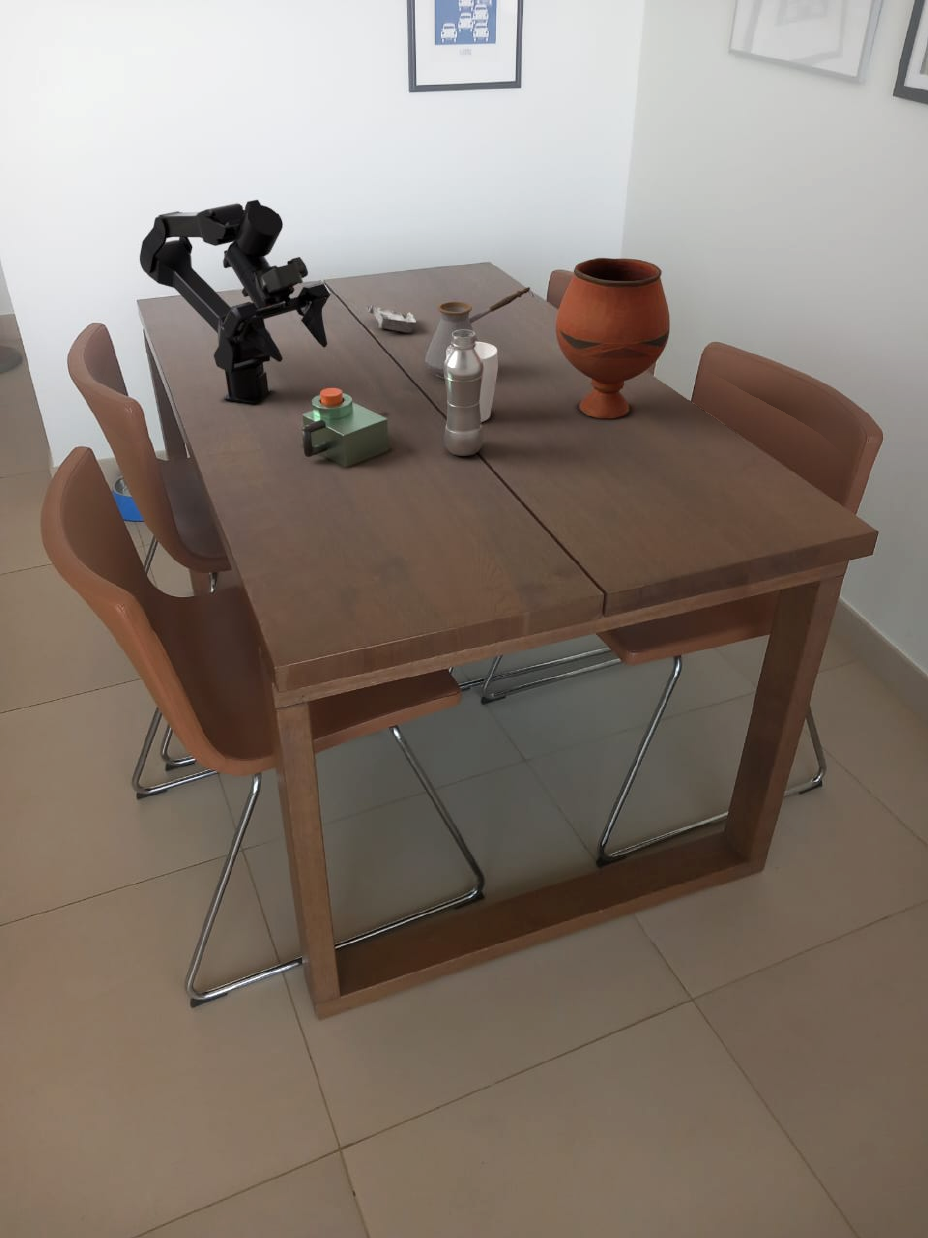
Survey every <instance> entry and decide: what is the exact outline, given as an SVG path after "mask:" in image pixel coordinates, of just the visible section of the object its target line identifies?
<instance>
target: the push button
mask: <svg viewBox="0 0 928 1238" xmlns="http://www.w3.org/2000/svg"><path fill="white" fill-rule="evenodd" d="M342 393H343V390H342V389H341V388H337V387H327V388H323V389H321V391H320V392H319V395H320V397H321V404H323V405H327V406H333V405H339V404H342V403H343V395H342Z"/></svg>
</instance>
